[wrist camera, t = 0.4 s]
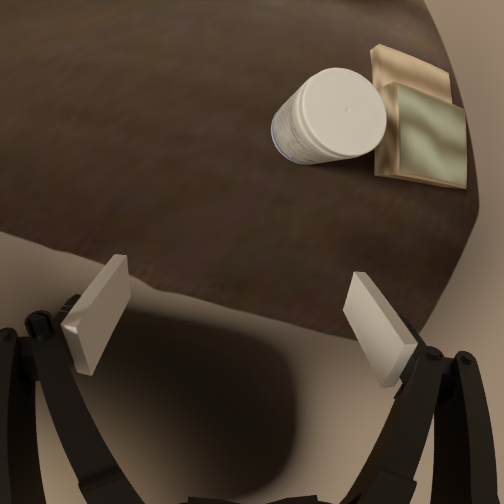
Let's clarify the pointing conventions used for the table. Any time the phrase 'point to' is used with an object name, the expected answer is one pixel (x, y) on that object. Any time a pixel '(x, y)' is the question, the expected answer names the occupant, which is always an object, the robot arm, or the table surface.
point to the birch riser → (418, 122)
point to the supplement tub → (330, 119)
